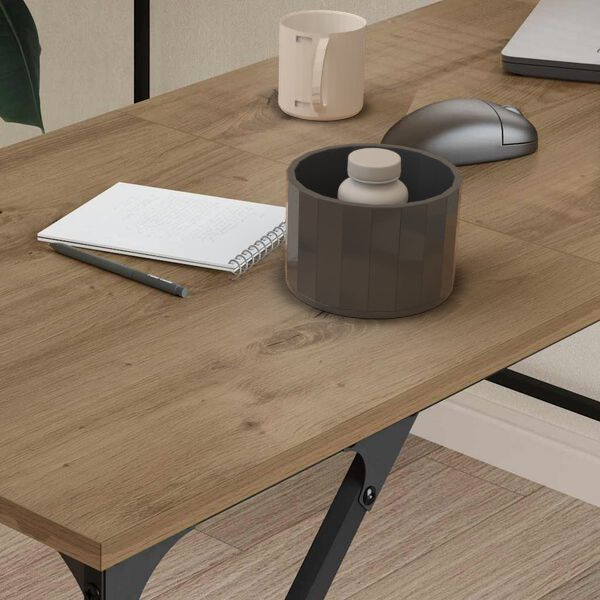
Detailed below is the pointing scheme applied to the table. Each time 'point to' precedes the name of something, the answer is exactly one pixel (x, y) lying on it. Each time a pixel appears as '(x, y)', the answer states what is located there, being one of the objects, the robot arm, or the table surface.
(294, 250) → the canister
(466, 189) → the table surface
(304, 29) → the mug
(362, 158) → the pill bottle
